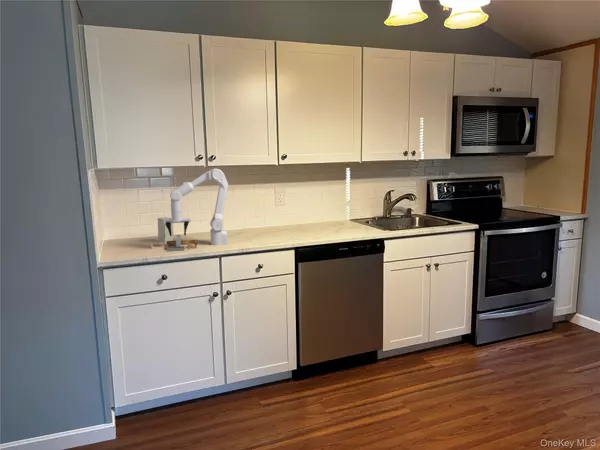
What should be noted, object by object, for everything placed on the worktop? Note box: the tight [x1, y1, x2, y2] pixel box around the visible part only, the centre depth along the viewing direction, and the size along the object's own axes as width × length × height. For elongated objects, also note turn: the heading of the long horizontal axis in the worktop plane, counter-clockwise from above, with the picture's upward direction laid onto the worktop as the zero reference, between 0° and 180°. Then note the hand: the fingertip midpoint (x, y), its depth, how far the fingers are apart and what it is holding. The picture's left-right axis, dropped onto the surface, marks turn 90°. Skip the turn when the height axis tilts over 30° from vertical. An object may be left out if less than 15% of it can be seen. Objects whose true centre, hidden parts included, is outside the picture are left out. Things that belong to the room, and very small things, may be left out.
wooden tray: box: [164, 239, 198, 251], centre depth 255 cm, size 17×12×4 cm
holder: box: [166, 245, 186, 253], centre depth 246 cm, size 9×4×3 cm, turn 101°
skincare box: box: [157, 216, 174, 243], centre depth 271 cm, size 8×6×15 cm
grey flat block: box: [175, 234, 182, 247], centre depth 254 cm, size 2×8×7 cm, turn 11°
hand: (177, 235), depth 253 cm, fingers open, 7 cm apart
